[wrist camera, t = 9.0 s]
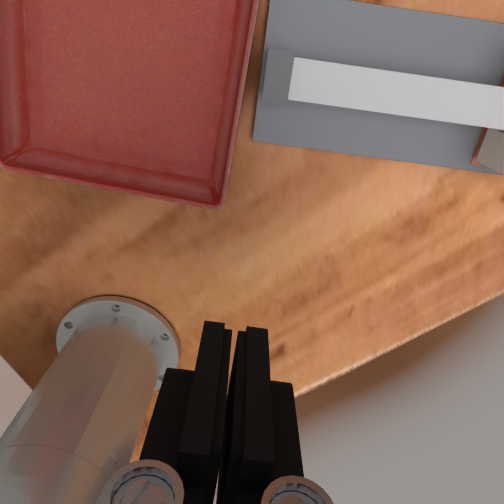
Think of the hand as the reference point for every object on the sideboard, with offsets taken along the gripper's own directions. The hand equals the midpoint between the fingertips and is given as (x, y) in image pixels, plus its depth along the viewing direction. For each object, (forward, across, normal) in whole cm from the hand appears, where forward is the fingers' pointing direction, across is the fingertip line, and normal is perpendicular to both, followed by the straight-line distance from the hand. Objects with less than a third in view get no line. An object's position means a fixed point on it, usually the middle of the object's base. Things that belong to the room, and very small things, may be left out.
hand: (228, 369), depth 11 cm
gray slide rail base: (+24, -12, -8) cm, 28 cm away
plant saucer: (+26, +10, -6) cm, 28 cm away
